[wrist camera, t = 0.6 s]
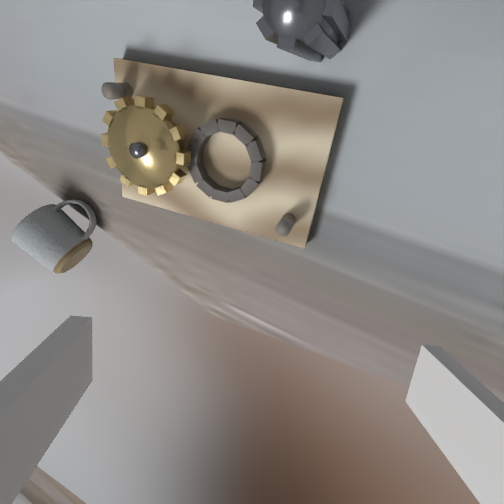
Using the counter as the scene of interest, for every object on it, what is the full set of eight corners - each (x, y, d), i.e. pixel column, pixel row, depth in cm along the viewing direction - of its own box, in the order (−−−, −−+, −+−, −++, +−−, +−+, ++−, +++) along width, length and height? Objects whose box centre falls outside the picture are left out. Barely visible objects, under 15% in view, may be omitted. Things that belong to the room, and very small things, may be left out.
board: (122, 58, 36) (93, 55, 32) (344, 97, 30) (340, 99, 27) (130, 193, 44) (106, 203, 40) (306, 243, 38) (299, 260, 35)
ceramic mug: (86, 262, 53) (46, 286, 47) (48, 227, 52) (3, 247, 46) (111, 222, 48) (70, 242, 41) (69, 183, 47) (21, 197, 40)
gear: (120, 88, 36) (89, 88, 32) (202, 104, 34) (180, 106, 30) (125, 177, 41) (99, 186, 37) (197, 196, 39) (177, 208, 35)
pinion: (301, -8, 28) (259, -60, 18) (357, -2, 27) (346, -54, 17) (290, 57, 30) (248, 43, 20) (341, 65, 29) (323, 54, 19)
